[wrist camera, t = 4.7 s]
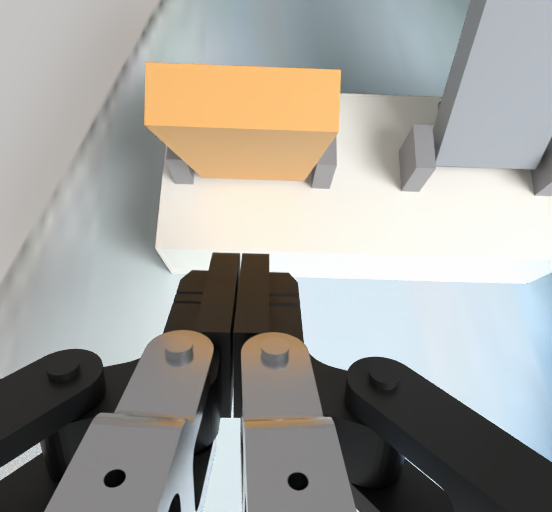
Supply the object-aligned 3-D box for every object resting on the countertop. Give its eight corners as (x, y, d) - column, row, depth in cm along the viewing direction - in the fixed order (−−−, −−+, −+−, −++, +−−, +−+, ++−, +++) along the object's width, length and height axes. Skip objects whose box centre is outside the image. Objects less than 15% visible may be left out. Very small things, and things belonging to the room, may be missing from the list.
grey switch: (524, 159, 22) (658, -129, 15) (536, 177, 21) (685, -122, 14) (421, 155, 22) (504, -137, 15) (427, 173, 21) (520, -131, 14)
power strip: (561, 146, 27) (644, 73, 21) (585, 285, 25) (687, 246, 19) (184, 133, 27) (162, 54, 21) (171, 273, 24) (143, 229, 18)
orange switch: (308, 150, 21) (349, 69, 11) (307, 182, 21) (347, 132, 11) (199, 146, 21) (136, 61, 11) (198, 178, 21) (135, 124, 11)
